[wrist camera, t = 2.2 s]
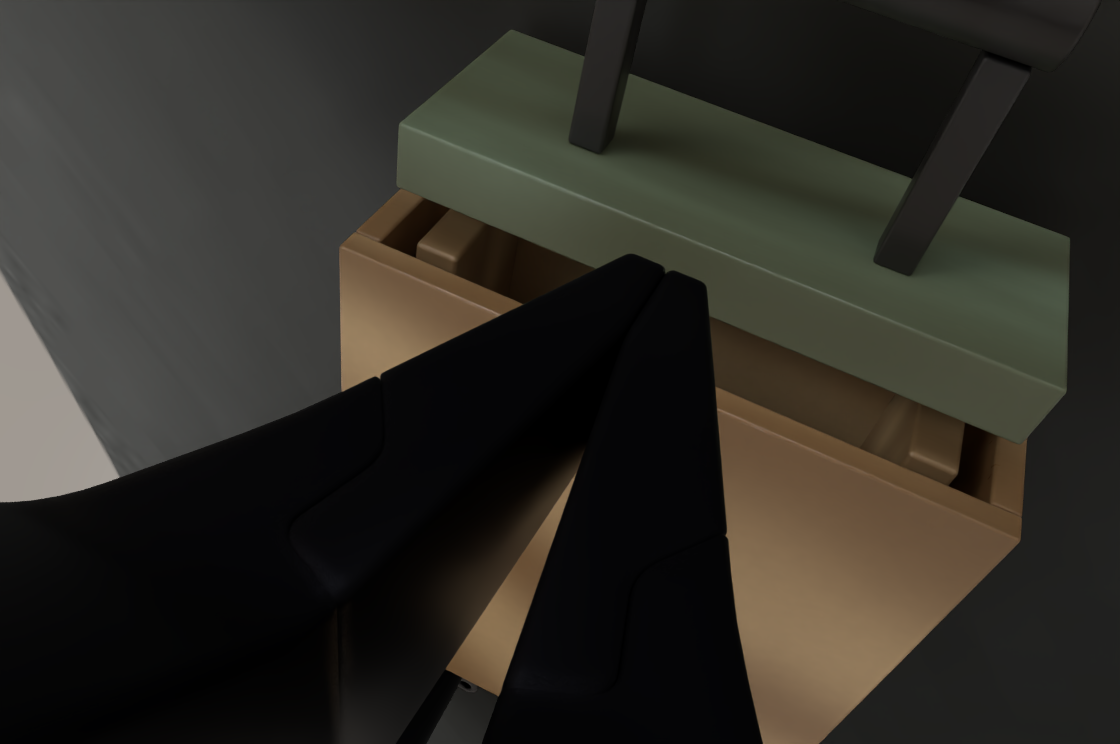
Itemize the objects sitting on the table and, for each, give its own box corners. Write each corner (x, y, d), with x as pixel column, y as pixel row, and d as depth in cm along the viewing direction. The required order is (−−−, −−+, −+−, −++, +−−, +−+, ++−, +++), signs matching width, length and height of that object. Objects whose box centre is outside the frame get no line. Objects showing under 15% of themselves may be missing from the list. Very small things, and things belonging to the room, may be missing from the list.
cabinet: (487, 105, 19) (337, 246, 15) (1036, 320, 17) (1022, 541, 13) (442, 475, 28) (344, 618, 24) (791, 640, 26) (742, 822, 22)
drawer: (551, -281, 13) (411, -235, 10) (1285, -55, 11) (1350, 71, 9) (456, 440, 25) (380, 547, 22) (803, 601, 23) (767, 738, 21)
